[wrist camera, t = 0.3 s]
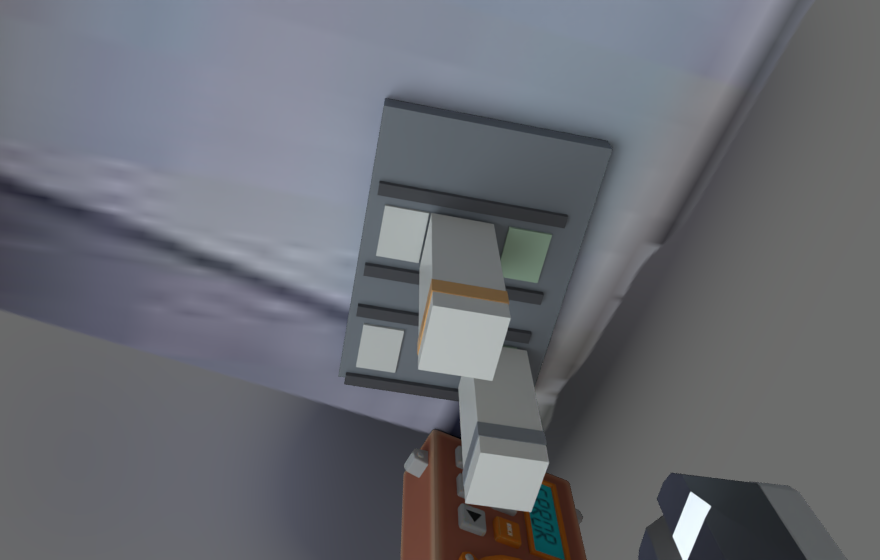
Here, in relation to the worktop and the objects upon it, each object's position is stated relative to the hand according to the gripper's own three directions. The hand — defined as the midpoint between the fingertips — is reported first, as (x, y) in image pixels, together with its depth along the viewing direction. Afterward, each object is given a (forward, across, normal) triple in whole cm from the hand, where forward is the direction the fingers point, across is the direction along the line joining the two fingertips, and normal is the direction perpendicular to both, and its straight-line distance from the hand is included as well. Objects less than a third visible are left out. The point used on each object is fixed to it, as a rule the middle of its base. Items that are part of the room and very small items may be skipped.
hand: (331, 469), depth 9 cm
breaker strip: (+40, -6, +13) cm, 43 cm away
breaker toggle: (+38, -6, +11) cm, 40 cm away
